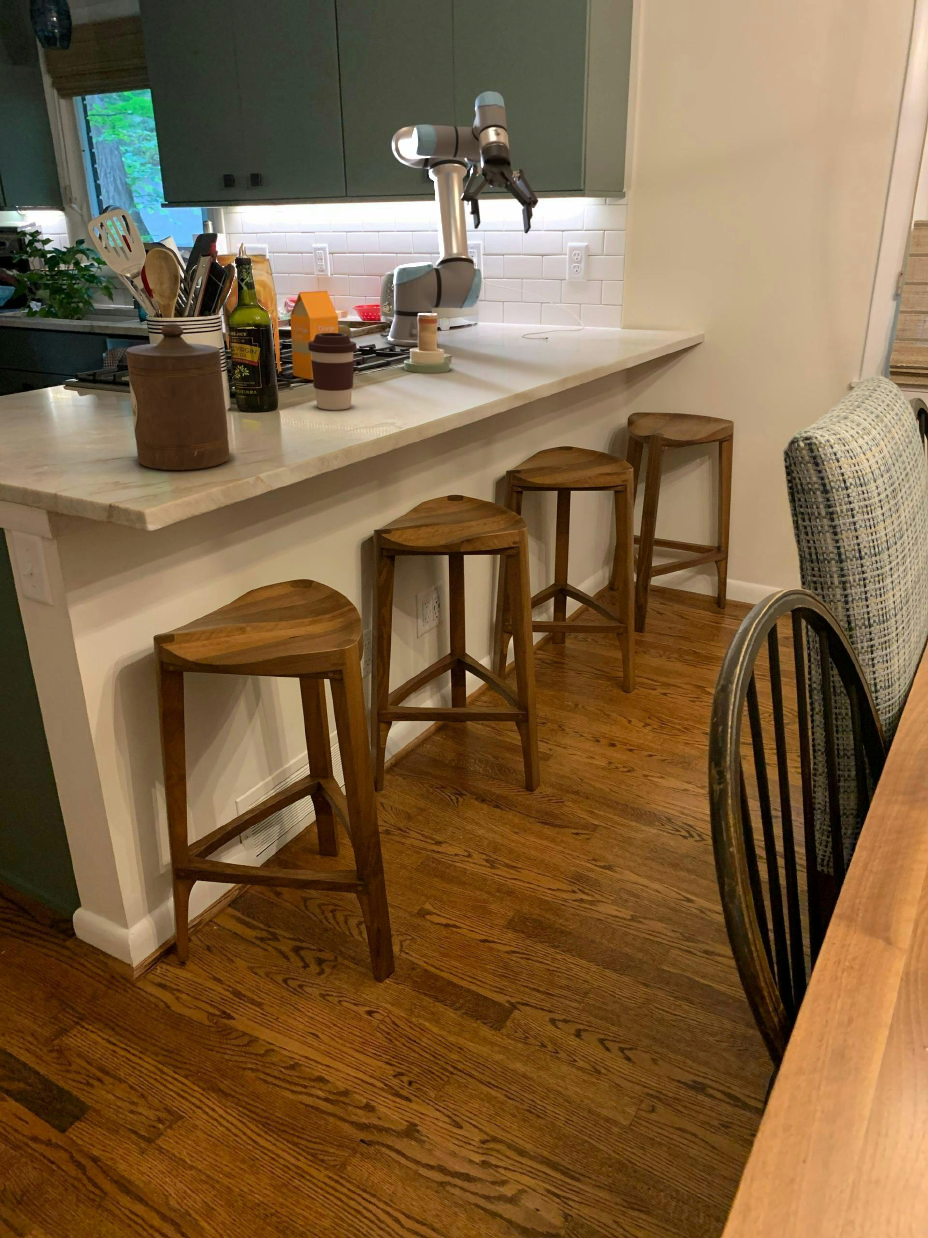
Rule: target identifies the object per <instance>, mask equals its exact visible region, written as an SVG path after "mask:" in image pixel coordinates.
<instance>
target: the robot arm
mask: <svg viewBox="0 0 928 1238" xmlns="http://www.w3.org/2000/svg"><path fill="white" fill-rule="evenodd" d="M474 106H475V107H474V111H475V119H474V121H473V124H472V126H470V127H469V126H455V125H454V126H453V125H440V124H439V125H438V124H437V125H436V124H427V123H426V124H425V123H424V124H416V125H409V126H404V127H402V128H400V129H398V130H397V131H396V132H395V133H394V135H393V137H392V140H391V151H392V154H393V156H394V157H395V158H396V159H397V160H398V161H399V162H400V163H401V164H404V165H406V166H408V167H411V168H416V169H427V170H428V175H429V178H430V179H431V180H433V181H434V190H435V192H434V193H435V203H436V205H435V206H436V215H437V229H438V244H439V256H440V258H439V259H438V260H437V262H436V263H435V265H436V267H434V265H433V263H432V262H428V261H427V262H425V261H424V262H415V263H413V262H412V263H407V264H402V265H398V266H397V267H396V268H395V269H394V274H393V275H394V276H393V283H392V285H393V319H392V323H391V327H390V331H389V333H380V337H382V338H387V343H388V344H390V345H393V346H401V347H418V314H419V313H433V309H460V310H461V309H469V308H473V307H475V306H476V304H477V303H478V301H479V298H480V295H481V290H482V280H483V279H482V277H483V276H482V272H481V269H480V268H478V267H475V261H474V259H473V258H472V257H471V256H470V255H469V248H468V247H469V245H468V233H467V221H466V209H465V207H466V206H465V202H466V205H467V207H468V211H469V212H468V213H469V214H470V215H472V218H473V227H474V229H475V230H477V229H478V228H479V227H480V225H481V223H482V222H481V214H480V213H481V212H480V204H479V196H480V195H481V193H482V192H483V191H484V190H485V189H486V188H487V187H488V185H489V186H490V187H491V188H499V189H503V188H504V189H505V191H506V192H509V193H510V194H511V195H512V196H513V197H514V199H515V200H516V201H517V202H518V203H519V204H520V205H521V206H522V207H523V208H522V209H521V212H522V222H523V231H524V234H529V231H530V230H531V228H532V223H531V220H532V218H533V216H534V215H533V214H534V213H533V209H535V208H536V206H537V205H538V203H539V198H538V197H537V196H536V194H535V193H534V191H533V189H532V187H531V185H530V184H529V182H528V180H527V179H526V177H525V172H524V170H523V169H522V168H519V169H518V170H513V169H512V163H511V154H510V153H511V152H510V146H509V145H510V144H509V136H508V125H507V116H506V115H507V114H506V110H507V109H506V107H505V101H504V97H503V96H502V95H501V94H500V93H499V92H497V91H490V90H488V91H484V92H482V93H480V94H479V95H478V96H477V97H476V99H475V105H474ZM469 169H470V171H469V179H468V180H467V183H466V185H465V187H464V183H463V182H464V181H463V178H465V177H466V176H467V173H468V170H469ZM479 175H481V177H482V178H483V180H482V181H481V182H480V183H479V184H478V186H477V187H476V188H475V189H474V191H473V192H472V193H471V194H470V190H471V189H472V186H473V184H474V182H475V179H476V177H478V176H479Z"/></svg>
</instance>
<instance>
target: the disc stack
mask: <svg viewBox="0 0 928 1238" xmlns="http://www.w3.org/2000/svg"><path fill="white" fill-rule="evenodd" d="M403 364H404V365H403V366H404V367H403V370H405V371H407V372H411V373H417V374H418V373H420V374H441V373H447V372H450V366H451V365H450V364H451V363H450V361H449V360H448V359H447V360H446V359H445V349H443V348H438V347H437V350H436V351H420V350H418V347H412V348H410V349H409V358H408V359H404V361H403Z"/></svg>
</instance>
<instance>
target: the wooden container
mask: <svg viewBox="0 0 928 1238" xmlns="http://www.w3.org/2000/svg"><path fill="white" fill-rule="evenodd" d="M160 331H161V332H160V333H161V335H162V336H163V337H162V338H161V340H159V342H158V343H146V344H140V345H134V346H131V347H128V348H127V349H126V363H127V368H128V379H129V392H130V399H131V411H132V423H133V430H134V437H135V445H136V452H137V459H138V463H140V464H141V465H142V466H144V467H147V468H151V469H155V470H163V471H190V470H191V471H193V470H201V469H207V468H212V467H216V466H219V465H222V464H223V463H227V461H228V460H230V443H229V435H228V434H229V431H228V429H229V428H228V419H227V411H226V410H227V408H226V401H225V389H224V382H223V381H224V380H223V371H222V356H221V349H220V348H219V347H218V346H214V345H210V344H202V343H189V342H187V341H186V340H185V339H184V338H183V337H182V335H183V334H184V329H183V328H182V326H180V325H178V324H177V323H173V322H172V323H169V322H168V323H166V324H165V325H163V326H161V329H160Z"/></svg>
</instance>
